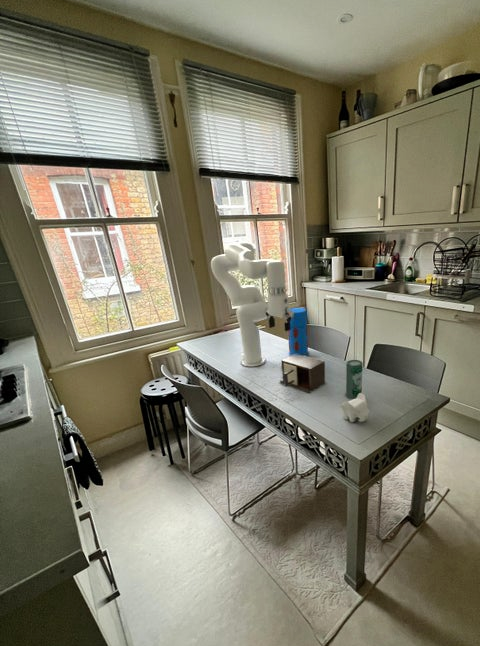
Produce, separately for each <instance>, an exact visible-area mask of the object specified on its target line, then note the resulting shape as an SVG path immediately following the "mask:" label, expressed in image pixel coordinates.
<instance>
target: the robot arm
mask: <svg viewBox="0 0 480 646" xmlns="http://www.w3.org/2000/svg"><path fill="white" fill-rule="evenodd" d="M255 259H256V256H255V247H254V246H253V245H252V243H250V242H248V241H239V242H231V243H228V244H227V245H226V246H225V247H224V254H219V255H218V254H217V255H216V256H214V257H212V258H211V261H210V269H211V271H212V274H213V276H214V278H215V280H217V282H218V283H219V284H220V285H221V286H222V288H223V289H224V292H225V293H226V295H227V297H228V298H229V300H230V302H231V303H232V305H234V306H235V307H237V308H236V311H235V312H236V313H235V314H236V315H235V316H236V319H237V321H238V325H239V331H240V339H241V343H242V344H241V347H242V352H241V354H240V357H242V360H241V365H242V366H244V367H250V368H251V367H252V368H253V367H258V366H261V365H263V364H264V363H265V362H266V358H265V357H263V355H262V345H261V337H260V330H259V327H258V326H257V325H256V324H255V323H256V322H260V321H263V320H266V319H267V320H268V326H269V329H271V328H275V326H276V319H275V318H281V319H283V321H284V324H283V325H284V332H288V331H289V330H290V329H291V327H290V321H291V320H292V319H293V316H294V313H293V312H292V311H291V310H290V309H291V304H290V300H289V295H288V292H287V291H288V290H287V288H286V275H285V274H286V272H285V263H284V261H283V260H275V259H273V258H264V259H256V260H255ZM237 271H240V274H241V275H243V276H244V277H247V278H248V279H251V280H257V279H263V278H264V279H265V278H266V280H267V291H268V292H267V302H266V299H265V298H264V296H263V294H262V292H261V291H260V289H259V288H258V287H257V286H255V285H253V284H249V285H242V284H241V283H240V281H239V279H238V278H237V277H236V276H235V275H233V274H232V273H230V272H237Z"/></svg>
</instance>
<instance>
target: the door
mask: <svg viewBox="0 0 480 646" xmlns="http://www.w3.org/2000/svg"><path fill="white" fill-rule="evenodd" d="M284 379H285V384H284V386H285V387H289V386H288V385H289V384H291V383H292V384H295V385H298V381H297V367H296V366H292V365H289V364H286V363H284Z"/></svg>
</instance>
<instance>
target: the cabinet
mask: <svg viewBox="0 0 480 646" xmlns="http://www.w3.org/2000/svg"><path fill="white" fill-rule="evenodd" d="M284 363H286V364H289V365H292V366H296V367H297V381H298V385H295V384H292V383H291V384H289V385H288V386H287V387H290V388H293V389H297V390H300V391H302V392H305V393H307V394H311V393H312V392H314V391H315V390H317V389H318V388H320V387H322V386H323V385H325V384H326V361H325V360H321V359H318V358H313V357H310V356H307V355H305V356H303V355H299V354H294V355H290V356H288V357H285V358H283V359H281V372H282V373H281V375H282V379H280V380H279V381H280V384H281V385H285V379H284Z"/></svg>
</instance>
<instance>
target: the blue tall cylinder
mask: <svg viewBox="0 0 480 646" xmlns="http://www.w3.org/2000/svg"><path fill="white" fill-rule="evenodd" d="M290 310H291V311H292V312H293V313H294V316H293V319H292V320H291V321H290V327H291V329H290V330H289V331H287V340H288V351H289V352H288V353H289V355H290V356H291V355H294V354H299V355H303V356H307V355H308V353H309V339H308V337H309V336H308V313H307V312H308V311H307V309H306V308H305V307H294V308H293V307H292V308H290Z"/></svg>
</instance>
